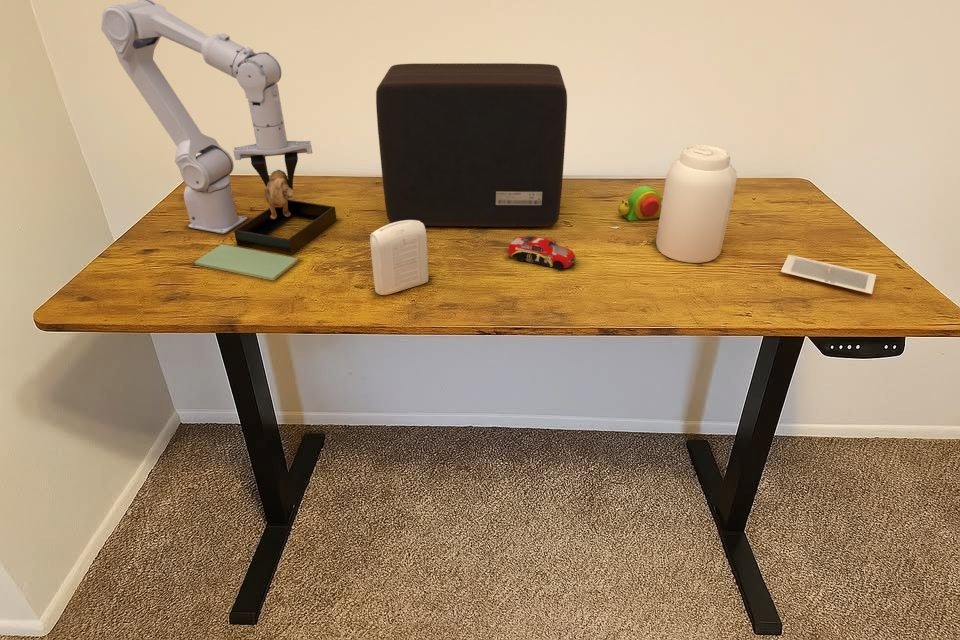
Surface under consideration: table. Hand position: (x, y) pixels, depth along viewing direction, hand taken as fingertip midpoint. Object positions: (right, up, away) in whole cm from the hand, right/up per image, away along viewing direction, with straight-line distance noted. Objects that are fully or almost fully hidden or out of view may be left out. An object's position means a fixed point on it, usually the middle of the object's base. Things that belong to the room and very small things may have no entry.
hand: (280, 190), depth 130 cm
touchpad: (+104, -19, -12) cm, 106 cm away
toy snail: (+79, -3, +12) cm, 80 cm away
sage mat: (-5, -15, -6) cm, 17 cm away
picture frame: (0, -8, +5) cm, 9 cm away
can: (+81, -12, -2) cm, 82 cm away
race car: (+52, -15, -5) cm, 54 cm away
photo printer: (+26, -20, -13) cm, 35 cm away
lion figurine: (+1, -4, -1) cm, 4 cm away
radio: (+39, -2, +13) cm, 41 cm away
